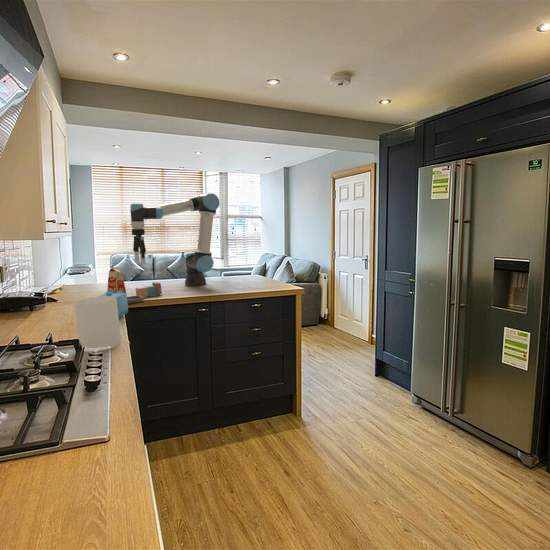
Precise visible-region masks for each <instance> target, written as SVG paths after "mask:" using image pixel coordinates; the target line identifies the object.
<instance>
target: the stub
mask: <svg viewBox="0 0 550 550" xmlns="http://www.w3.org/2000/svg"><path fill="white" fill-rule="evenodd" d="M135 293H136V295H140V296H142V297H144V298H146V297H145V296H147V291H146V287H144V286H139V287H135ZM136 295H135V296H136Z"/></svg>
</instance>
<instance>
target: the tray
mask: <svg viewBox="0 0 550 550" xmlns="http://www.w3.org/2000/svg"><path fill="white" fill-rule="evenodd" d="M142 300H144V301H145V297H142V296H140V295H131V296H127V303H128V305H132V304H137V303H136V302H137V301H142Z"/></svg>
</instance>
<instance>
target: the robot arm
mask: <svg viewBox="0 0 550 550" xmlns="http://www.w3.org/2000/svg"><path fill="white" fill-rule="evenodd" d="M219 207H220V199H219V196H217V195H216V194H215V193H213V192H207V193H201V194H198V195H196V196H192V197H188V198H187V199H185V200H180V201H174V202H169V203H163V204H159V205H155V206H144V204H143V203H140V202H139V203H131V204H130V210H129V211H130V222H131V223H130V226H131V235H132V236H133V244H132V245H133V247H132V251H133V252H134V253H133V254H134V262H135V263H140V264H142V265H143V264H145V265H146V252H147V249H146V245H145V239H144V236H145V234H146V232H145V221H146V220H162V219H163V217H166V216H169V215H175V214H179V213H180V214H181V213H184V212H192V213H193V212H198V213H199V214H200V220H199V230H198V239H197V249H196V250H195V251H194V252H189V253H186V254H185V269H186V275H185V280H184V284H185V286H187V287H195V286H196V287H198V286H203V285H206V284H207V280H206V277H205V275H204V273H207V272H209V271H211V270H212V269H213V267H214V263H215V262H214V259H213V258H212V257H213V256H212V255H213V253H212V251H211V245H212V244H211V243H212V233H213V221H214V216H216V214H217V209H218V208H219Z"/></svg>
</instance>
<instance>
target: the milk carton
mask: <svg viewBox="0 0 550 550" xmlns="http://www.w3.org/2000/svg"><path fill="white" fill-rule="evenodd" d="M107 278H108V279H107V290H106V292H110V291H111V292H112V293H118V291H120V290H122V292H121V293H127V289H126V284H125V280H124V276H123V273H122V271H121V270H120V269H119V267H113V266H111V267H110V270H109V271H108V277H107Z"/></svg>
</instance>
